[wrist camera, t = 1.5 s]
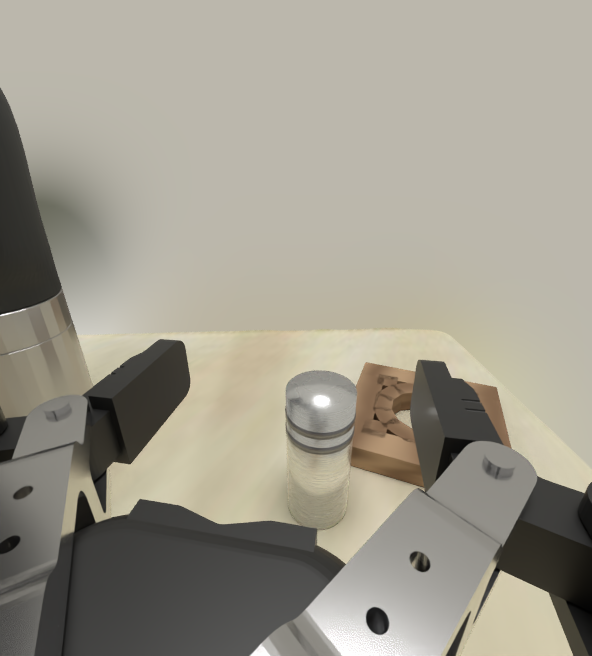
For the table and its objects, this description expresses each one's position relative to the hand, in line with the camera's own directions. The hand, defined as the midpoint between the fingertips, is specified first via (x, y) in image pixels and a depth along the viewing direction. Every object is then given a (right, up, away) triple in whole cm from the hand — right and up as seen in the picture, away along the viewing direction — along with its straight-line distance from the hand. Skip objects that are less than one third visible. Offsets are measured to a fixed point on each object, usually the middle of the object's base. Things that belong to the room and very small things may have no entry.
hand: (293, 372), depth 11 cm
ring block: (+14, -10, +26) cm, 32 cm away
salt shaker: (+2, -14, +18) cm, 23 cm away
